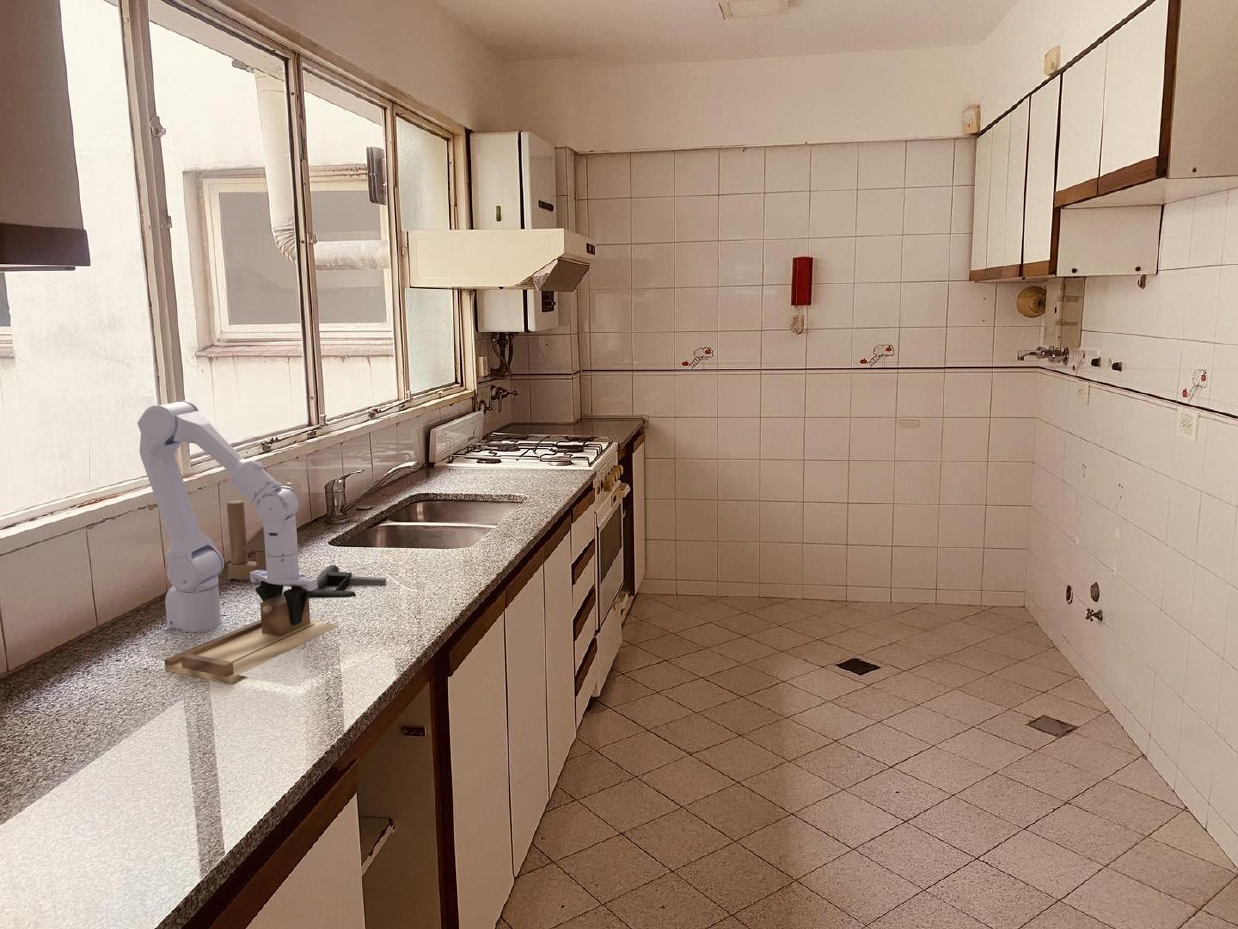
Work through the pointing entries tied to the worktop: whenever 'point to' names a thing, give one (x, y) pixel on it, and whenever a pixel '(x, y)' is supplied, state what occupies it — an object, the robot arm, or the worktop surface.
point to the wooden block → (243, 544)
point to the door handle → (340, 583)
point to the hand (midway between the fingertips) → (286, 622)
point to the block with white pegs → (280, 616)
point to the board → (240, 651)
